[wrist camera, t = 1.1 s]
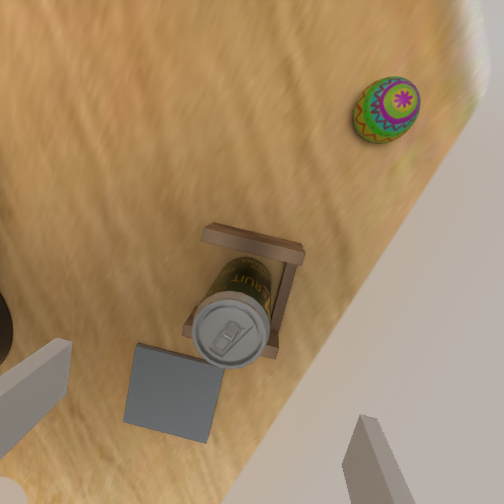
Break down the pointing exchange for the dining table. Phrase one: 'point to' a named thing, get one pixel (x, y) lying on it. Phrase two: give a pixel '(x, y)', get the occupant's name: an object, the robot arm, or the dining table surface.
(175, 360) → the coaster
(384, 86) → the egg
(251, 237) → the rack
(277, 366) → the dining table surface
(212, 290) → the beer can
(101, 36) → the dining table surface
